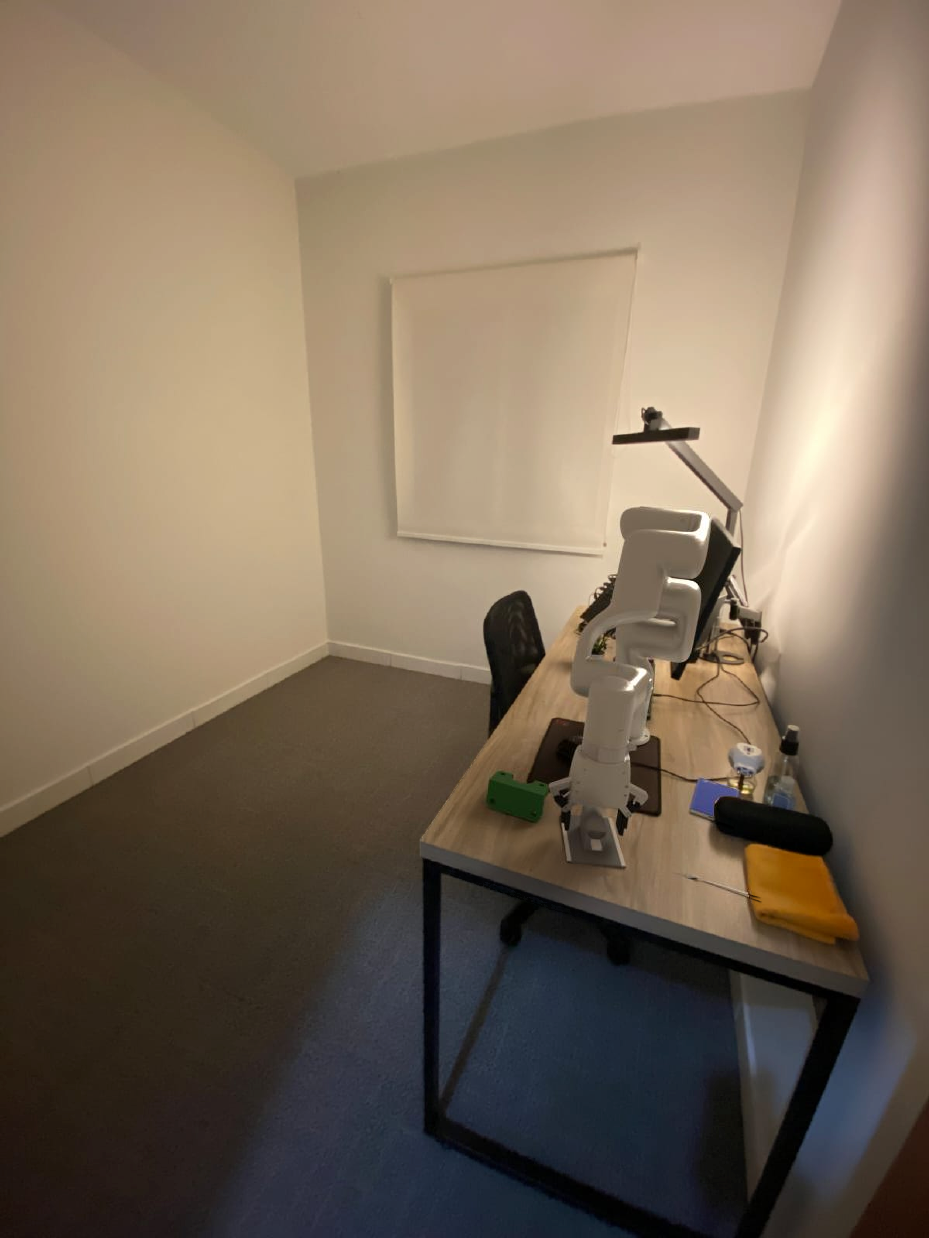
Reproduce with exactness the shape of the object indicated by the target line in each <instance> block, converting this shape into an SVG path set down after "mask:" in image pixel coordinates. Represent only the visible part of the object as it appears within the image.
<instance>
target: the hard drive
mask: <svg viewBox="0 0 929 1238" xmlns="http://www.w3.org/2000/svg"><path fill="white" fill-rule="evenodd" d="M696 782H697V783H696V786H695V790H694V793H693V796H692V801H691V804H690V808H689V812H690V813H691V814H694V815H698V816H701V817H704V818H706V819H709V820H712V821H714V804H715V801H716V800H717V799H718V798H719V797H722V796H727V795H729V796H736V797H740V790H739V789H737V788H734V787H731V786H728V785H724V784H722V783H719V782H716V781H712V780H710V779H706V778H703V777H698V778H697V781H696ZM730 787H731V788H730ZM738 790H739V791H738Z"/></svg>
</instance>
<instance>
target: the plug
mask: <svg viewBox="0 0 929 1238" xmlns="http://www.w3.org/2000/svg"><path fill="white" fill-rule="evenodd" d="M580 810H581V811H580V815H581V816H580V824H579V828H580V833H581V838H582V843H583V848H584V850H593V851H604V846H605V840H606V834H607V829H606V826H605V822H604V818H605V817H604V815H603V812H602V811H603V810H602V807H592V806H583V805H581V808H580Z"/></svg>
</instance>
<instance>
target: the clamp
mask: <svg viewBox="0 0 929 1238" xmlns="http://www.w3.org/2000/svg"><path fill="white" fill-rule="evenodd" d="M549 792H550V790H549V784H547V783H545V782H542V781H538V780H536V779H534V781H533V782H531V783H526V782H525V783H524V782H520V781H517V780H515V779H514V773H511V772H508V771H504V770H499V771H498V770H497V771H496V772H495V773H494V774H493V775H492V776H491V777H490V778H489V779H488V785H487V792H486V798H485V802H486V804H487V807H489V808H490V809H494V810H495V811H499V812H503V813H506V814H508V815H512V816H515V817H518V818H522V819H524V820H527V821H531V822H538V821H540V819H541V817H542V816H543V814H544V809H545V802H546V798H547V797H548V795H549Z"/></svg>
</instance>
